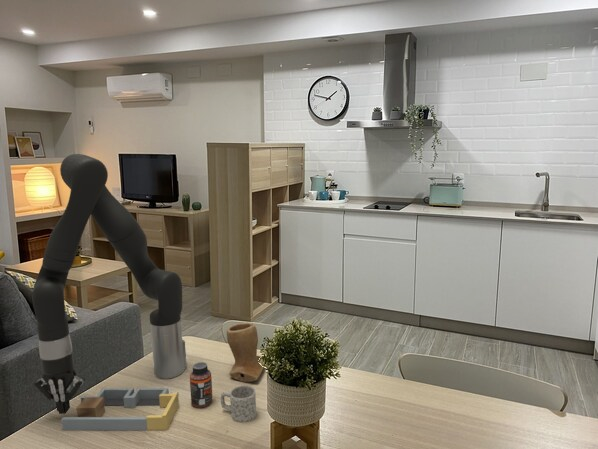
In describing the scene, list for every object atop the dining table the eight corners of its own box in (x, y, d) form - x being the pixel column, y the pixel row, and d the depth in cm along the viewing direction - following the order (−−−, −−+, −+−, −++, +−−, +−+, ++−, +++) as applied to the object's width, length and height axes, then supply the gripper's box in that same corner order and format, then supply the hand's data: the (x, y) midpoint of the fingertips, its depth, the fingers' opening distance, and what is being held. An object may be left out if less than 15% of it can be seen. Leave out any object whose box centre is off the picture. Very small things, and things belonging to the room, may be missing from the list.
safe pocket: (147, 429, 118) (146, 415, 118) (161, 405, 129) (160, 392, 128) (166, 429, 118) (165, 415, 117) (178, 405, 129) (178, 392, 128)
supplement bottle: (207, 409, 127) (205, 371, 125) (187, 407, 128) (184, 369, 126) (216, 397, 132) (213, 361, 130) (196, 395, 134) (194, 359, 131)
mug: (260, 410, 126) (259, 387, 125) (249, 424, 120) (248, 400, 119) (227, 403, 129) (226, 382, 128) (215, 417, 123) (214, 394, 122)
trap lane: (62, 430, 119) (61, 419, 118) (90, 397, 134) (89, 388, 133) (151, 429, 118) (150, 419, 118) (169, 397, 133) (168, 387, 132)
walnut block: (78, 423, 122) (76, 408, 121) (87, 412, 127) (85, 397, 126) (96, 423, 122) (95, 407, 121) (105, 412, 127) (103, 397, 126)
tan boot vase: (235, 359, 155) (233, 316, 153) (269, 361, 153) (268, 318, 150) (219, 382, 141) (216, 336, 138) (257, 385, 139) (255, 338, 136)
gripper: (22, 359, 118) (31, 420, 121) (73, 358, 117) (81, 420, 120) (39, 345, 125) (47, 404, 128) (88, 345, 125) (94, 404, 128)
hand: (64, 412), depth 124 cm, fingers closed
